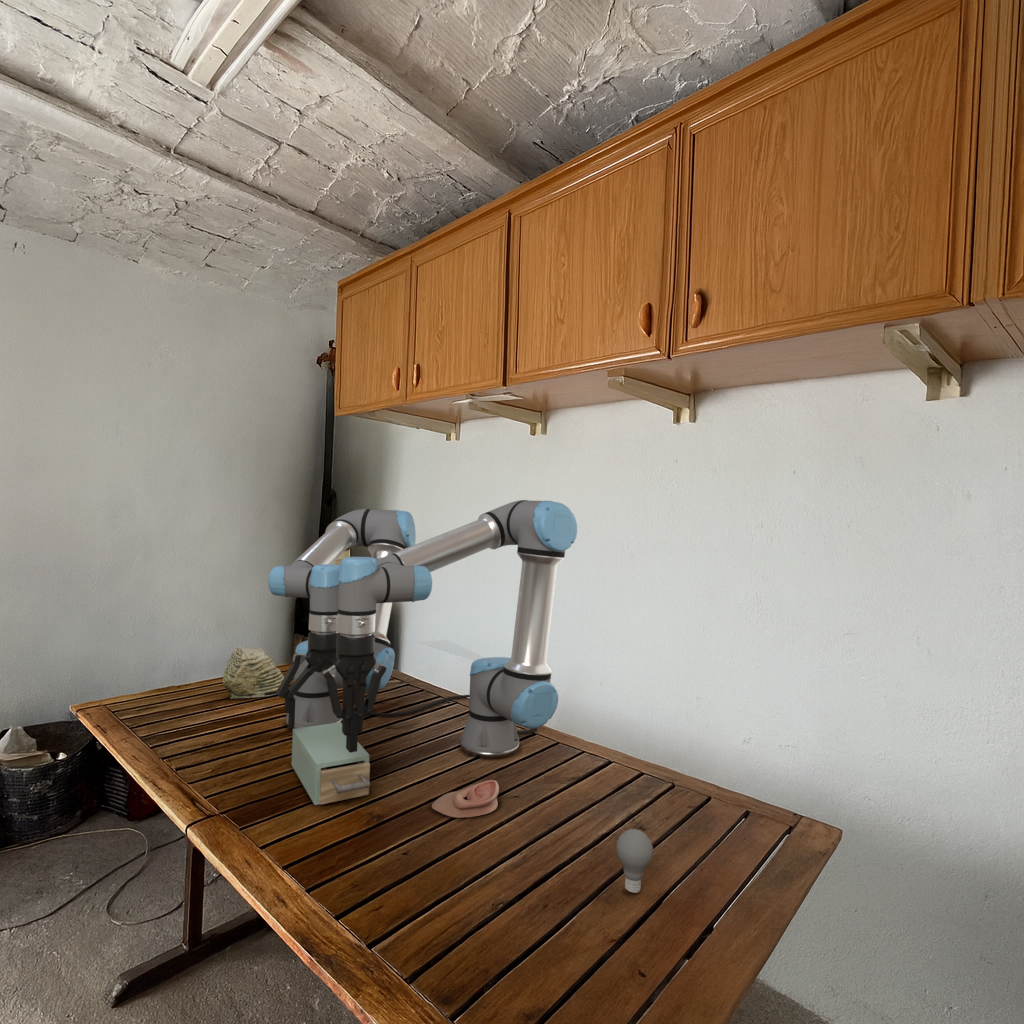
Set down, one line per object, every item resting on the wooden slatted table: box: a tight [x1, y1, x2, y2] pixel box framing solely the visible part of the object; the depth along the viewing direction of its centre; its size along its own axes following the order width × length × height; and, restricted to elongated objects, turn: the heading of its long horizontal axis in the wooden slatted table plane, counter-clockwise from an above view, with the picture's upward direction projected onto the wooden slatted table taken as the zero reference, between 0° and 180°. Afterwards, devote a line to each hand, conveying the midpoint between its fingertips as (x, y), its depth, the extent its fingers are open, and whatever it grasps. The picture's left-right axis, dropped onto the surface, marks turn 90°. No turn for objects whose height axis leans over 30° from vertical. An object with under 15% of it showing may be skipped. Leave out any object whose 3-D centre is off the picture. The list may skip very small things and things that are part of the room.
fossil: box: [222, 646, 285, 699], centre depth 198 cm, size 9×18×15 cm, turn 132°
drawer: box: [319, 761, 371, 805], centre depth 137 cm, size 26×10×6 cm, turn 31°
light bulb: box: [615, 828, 654, 894], centre depth 106 cm, size 6×6×10 cm
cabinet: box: [291, 722, 370, 806], centre depth 142 cm, size 22×11×9 cm, turn 31°
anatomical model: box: [431, 779, 500, 819], centre depth 132 cm, size 13×4×12 cm
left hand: (321, 722), depth 147 cm, fingers open, 13 cm apart
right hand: (351, 749), depth 128 cm, fingers closed
